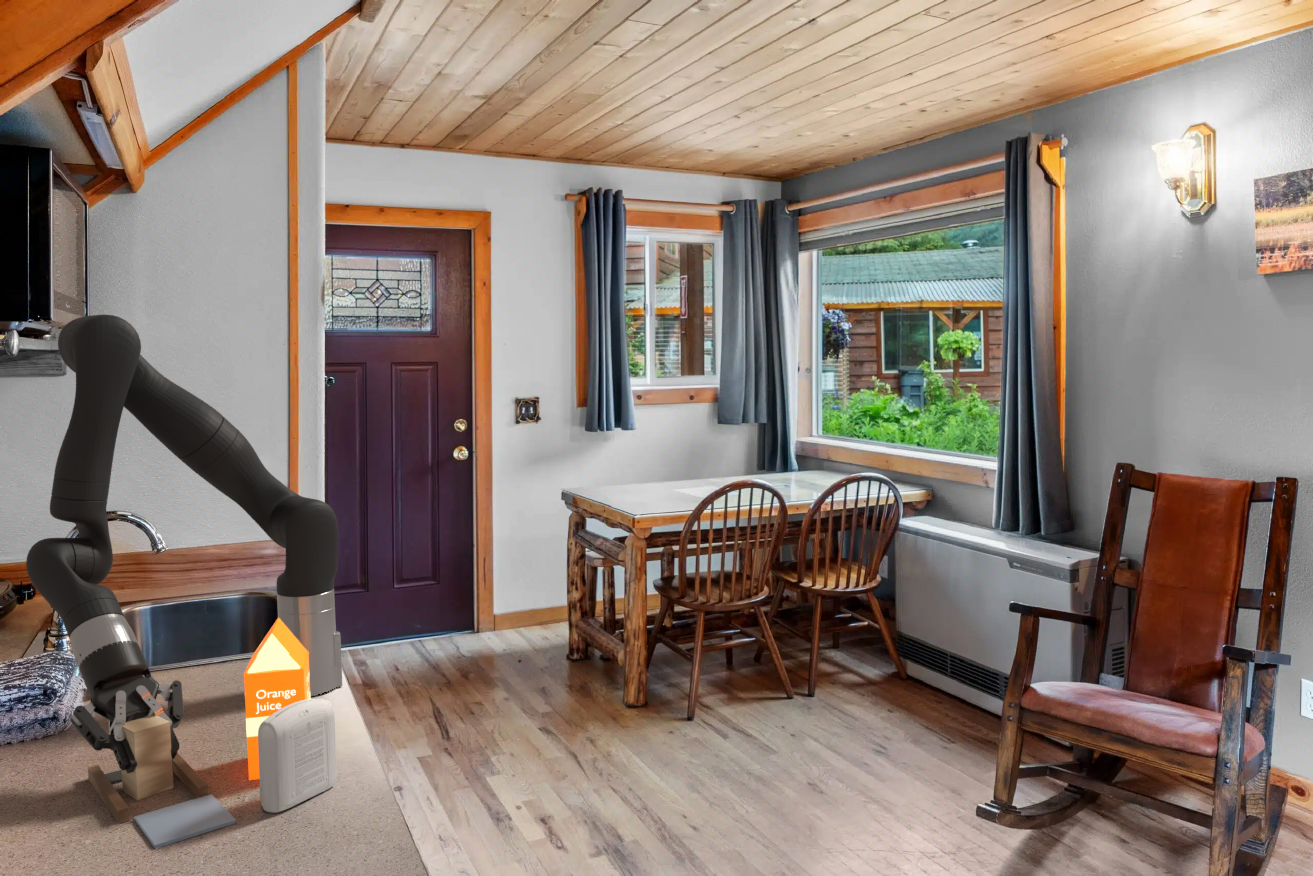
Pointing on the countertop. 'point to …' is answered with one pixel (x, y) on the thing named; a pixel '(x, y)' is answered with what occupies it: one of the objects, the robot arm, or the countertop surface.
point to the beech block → (148, 757)
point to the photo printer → (296, 754)
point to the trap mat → (114, 776)
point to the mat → (184, 820)
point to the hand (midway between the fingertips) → (153, 762)
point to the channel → (120, 807)
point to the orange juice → (273, 683)
